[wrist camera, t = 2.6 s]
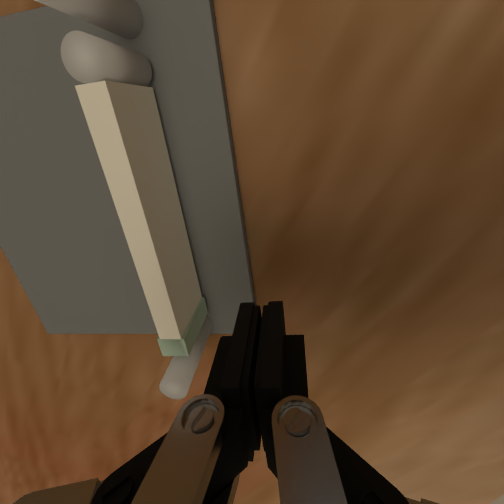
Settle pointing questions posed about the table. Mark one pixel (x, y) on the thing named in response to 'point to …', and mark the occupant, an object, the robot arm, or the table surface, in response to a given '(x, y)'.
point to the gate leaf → (139, 181)
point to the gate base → (93, 178)
